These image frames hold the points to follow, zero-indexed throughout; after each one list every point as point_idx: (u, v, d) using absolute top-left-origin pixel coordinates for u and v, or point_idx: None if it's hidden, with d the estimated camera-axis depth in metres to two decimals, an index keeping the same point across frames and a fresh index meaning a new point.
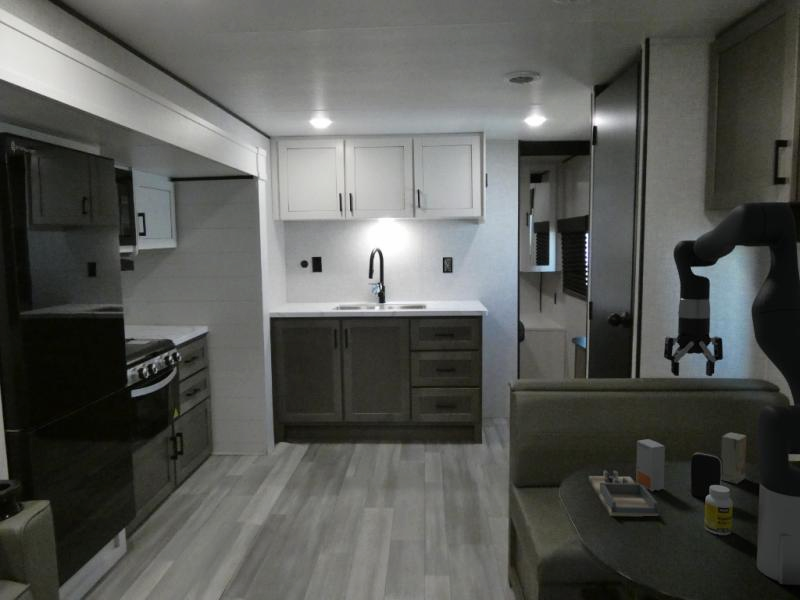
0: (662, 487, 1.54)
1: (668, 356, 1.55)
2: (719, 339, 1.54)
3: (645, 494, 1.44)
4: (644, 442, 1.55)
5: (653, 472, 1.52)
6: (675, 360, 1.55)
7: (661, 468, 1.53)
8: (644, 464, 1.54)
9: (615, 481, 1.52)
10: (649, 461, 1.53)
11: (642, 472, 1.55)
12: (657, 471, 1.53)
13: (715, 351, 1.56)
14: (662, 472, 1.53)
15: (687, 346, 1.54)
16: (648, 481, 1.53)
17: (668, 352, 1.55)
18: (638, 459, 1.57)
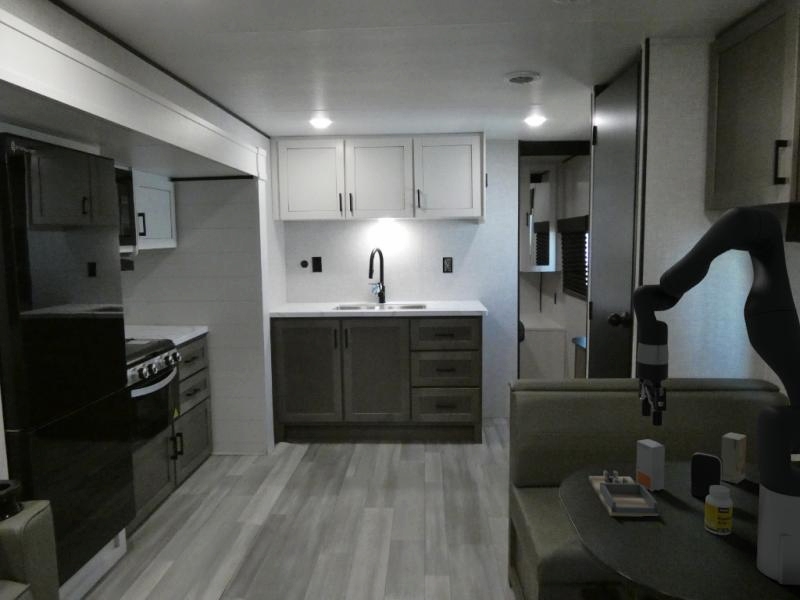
0: (662, 487, 1.54)
1: (665, 407, 1.47)
2: None
3: (645, 494, 1.44)
4: (644, 442, 1.55)
5: (653, 472, 1.52)
6: None
7: (661, 468, 1.53)
8: (644, 464, 1.54)
9: (615, 481, 1.52)
10: (649, 461, 1.53)
11: (642, 472, 1.55)
12: (657, 471, 1.53)
13: None
14: (662, 472, 1.53)
15: None
16: (648, 481, 1.53)
17: (665, 403, 1.47)
18: (638, 459, 1.57)
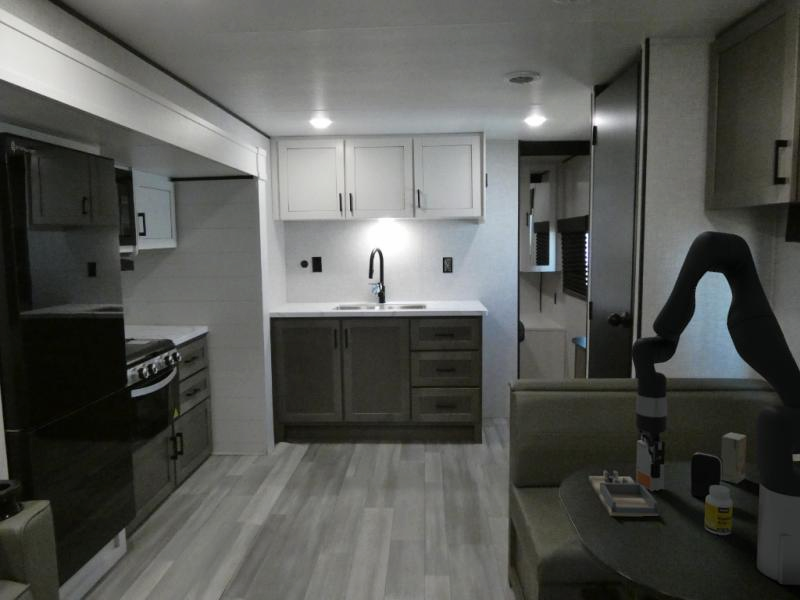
0: (662, 487, 1.54)
1: (663, 461, 1.49)
2: None
3: (645, 494, 1.44)
4: (644, 442, 1.55)
5: None
6: None
7: (661, 468, 1.53)
8: (644, 464, 1.54)
9: (615, 481, 1.52)
10: (649, 461, 1.53)
11: (642, 471, 1.55)
12: None
13: None
14: (662, 472, 1.53)
15: None
16: (648, 481, 1.53)
17: None
18: (638, 459, 1.57)
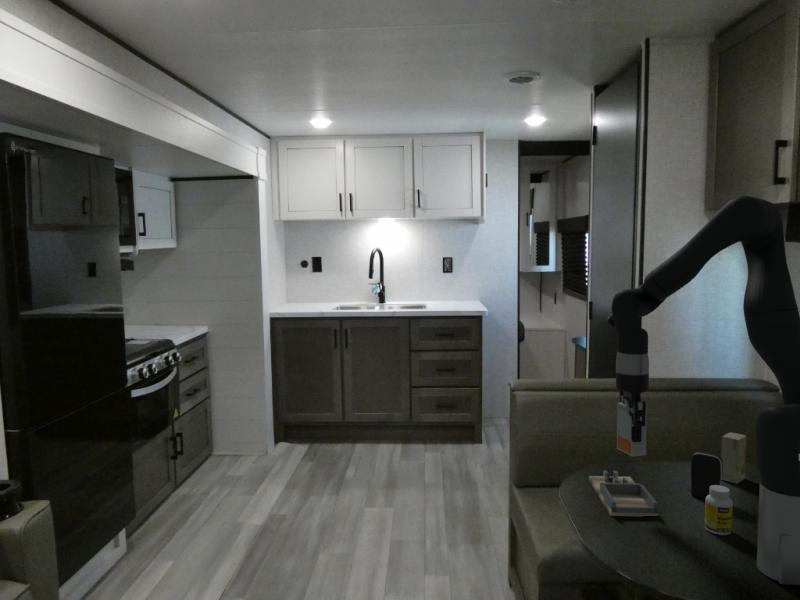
0: (644, 452, 1.41)
1: (644, 422, 1.37)
2: None
3: (645, 494, 1.44)
4: None
5: None
6: None
7: (643, 431, 1.41)
8: (625, 428, 1.42)
9: (615, 481, 1.52)
10: (629, 424, 1.40)
11: (623, 436, 1.43)
12: None
13: None
14: (644, 436, 1.41)
15: None
16: (628, 446, 1.41)
17: None
18: (618, 423, 1.44)
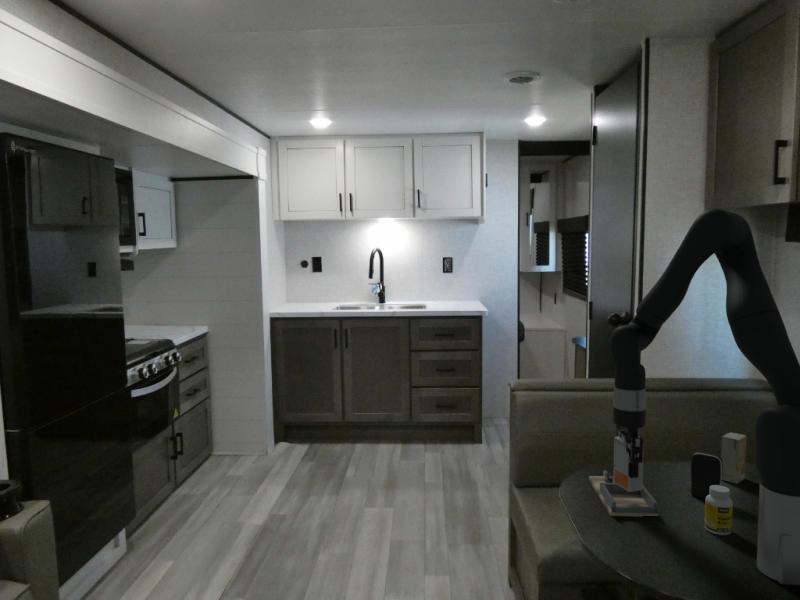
0: (641, 487, 1.41)
1: None
2: None
3: (645, 494, 1.44)
4: (621, 438, 1.43)
5: None
6: None
7: (640, 467, 1.41)
8: (621, 463, 1.42)
9: None
10: (626, 459, 1.41)
11: (620, 470, 1.43)
12: None
13: None
14: (641, 471, 1.41)
15: None
16: (625, 481, 1.41)
17: None
18: (615, 457, 1.45)
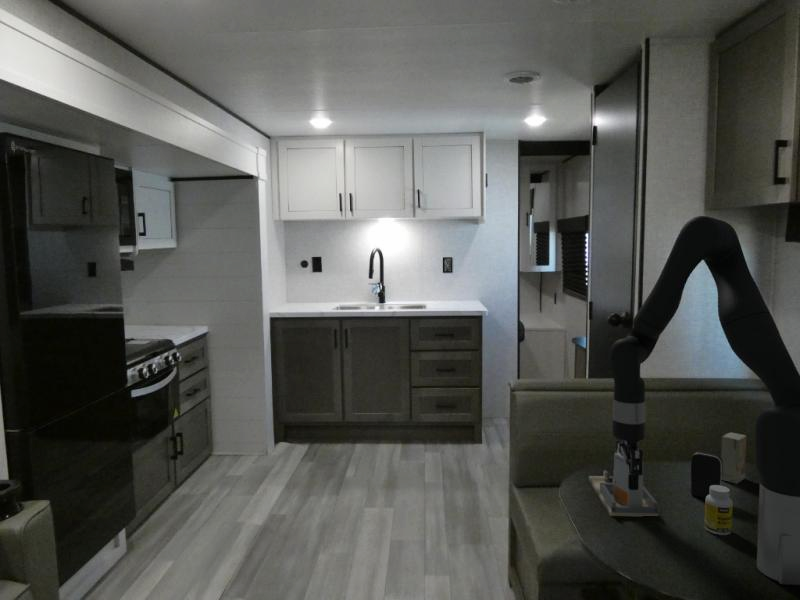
0: (641, 504, 1.41)
1: None
2: None
3: (645, 494, 1.44)
4: (621, 455, 1.43)
5: None
6: None
7: (639, 483, 1.41)
8: (621, 479, 1.42)
9: None
10: (626, 476, 1.41)
11: (620, 487, 1.43)
12: None
13: (618, 448, 1.49)
14: (641, 487, 1.41)
15: None
16: (625, 498, 1.41)
17: None
18: (615, 473, 1.45)
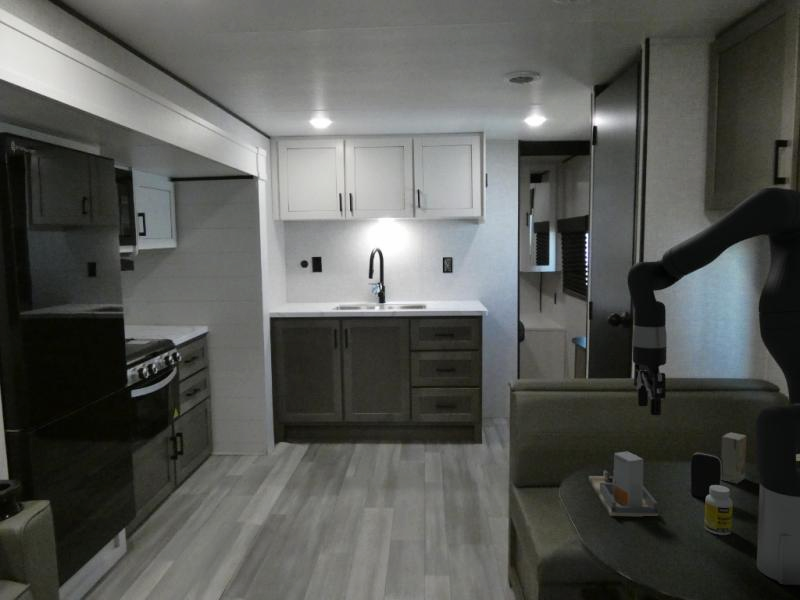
0: (641, 504, 1.41)
1: None
2: None
3: (645, 494, 1.44)
4: (621, 455, 1.43)
5: (630, 488, 1.40)
6: None
7: (639, 483, 1.41)
8: (621, 479, 1.42)
9: None
10: (626, 476, 1.41)
11: (620, 487, 1.43)
12: (635, 486, 1.41)
13: (637, 378, 1.48)
14: (641, 487, 1.41)
15: None
16: (625, 498, 1.41)
17: None
18: (615, 473, 1.45)
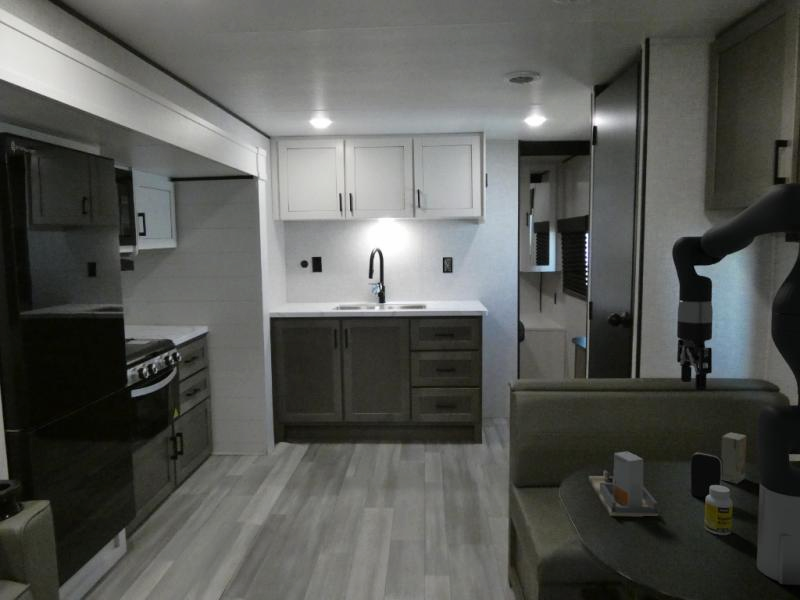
0: (641, 504, 1.41)
1: None
2: None
3: (645, 494, 1.44)
4: (621, 455, 1.43)
5: (630, 488, 1.40)
6: None
7: (639, 483, 1.41)
8: (621, 479, 1.42)
9: None
10: (626, 476, 1.41)
11: (620, 487, 1.43)
12: (635, 486, 1.41)
13: (680, 354, 1.47)
14: (641, 487, 1.41)
15: None
16: (625, 498, 1.41)
17: None
18: (615, 473, 1.45)
